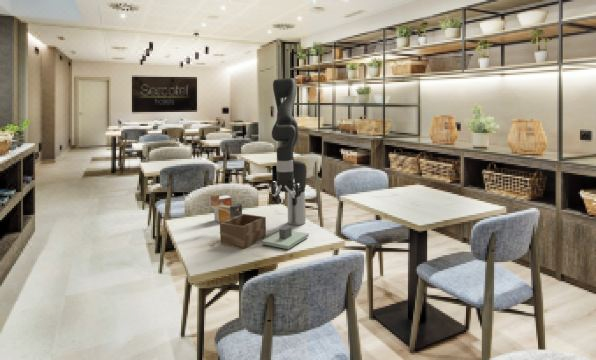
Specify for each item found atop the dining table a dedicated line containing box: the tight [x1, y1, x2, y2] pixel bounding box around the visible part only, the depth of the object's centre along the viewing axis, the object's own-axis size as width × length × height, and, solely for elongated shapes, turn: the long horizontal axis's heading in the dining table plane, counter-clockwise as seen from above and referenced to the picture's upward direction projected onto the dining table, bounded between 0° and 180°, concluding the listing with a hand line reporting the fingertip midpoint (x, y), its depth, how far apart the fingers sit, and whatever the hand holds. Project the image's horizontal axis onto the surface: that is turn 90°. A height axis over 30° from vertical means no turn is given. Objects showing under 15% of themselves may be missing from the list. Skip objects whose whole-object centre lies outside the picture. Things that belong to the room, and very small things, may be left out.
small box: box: [213, 194, 233, 223], centre depth 231 cm, size 8×6×13 cm
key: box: [210, 193, 239, 211], centre depth 208 cm, size 3×15×6 cm, turn 60°
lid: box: [261, 225, 310, 250], centre depth 196 cm, size 19×14×7 cm
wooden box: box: [219, 203, 267, 250], centre depth 198 cm, size 18×16×15 cm
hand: (286, 204), depth 193 cm, fingers open, 8 cm apart
